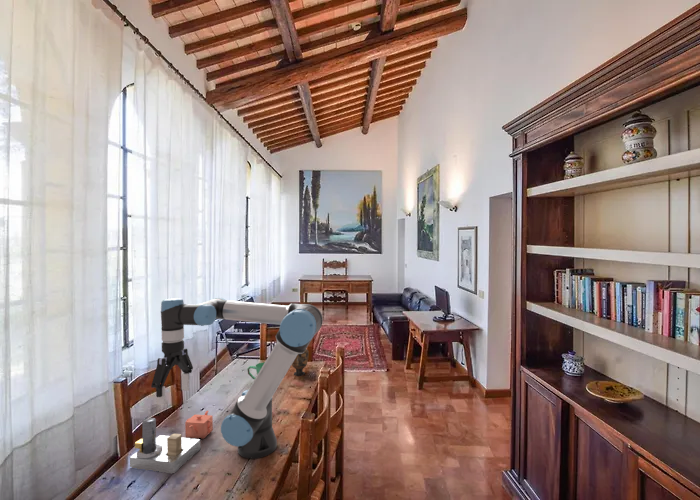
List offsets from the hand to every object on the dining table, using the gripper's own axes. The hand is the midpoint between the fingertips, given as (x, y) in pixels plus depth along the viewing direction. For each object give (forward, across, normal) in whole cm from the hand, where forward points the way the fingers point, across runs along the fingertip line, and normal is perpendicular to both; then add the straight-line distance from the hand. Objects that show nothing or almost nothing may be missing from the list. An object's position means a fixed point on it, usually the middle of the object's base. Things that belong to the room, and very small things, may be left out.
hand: (173, 397), depth 139 cm
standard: (+21, +2, -9) cm, 23 cm away
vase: (+25, -99, +14) cm, 103 cm away
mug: (+25, -82, -4) cm, 86 cm away
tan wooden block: (+25, 0, 0) cm, 25 cm away
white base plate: (+25, -2, -5) cm, 25 cm away
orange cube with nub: (+25, -20, -3) cm, 32 cm away
